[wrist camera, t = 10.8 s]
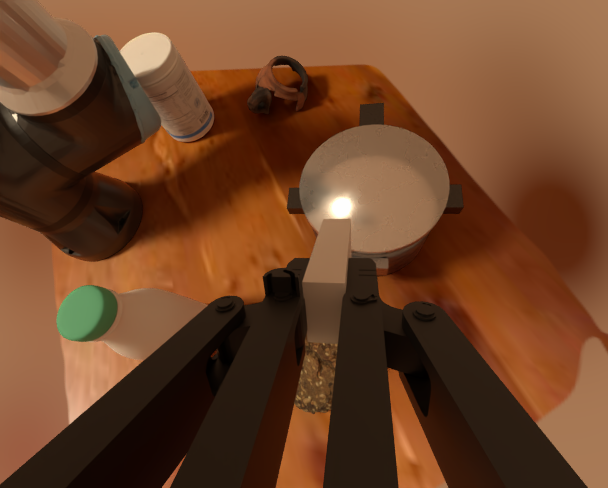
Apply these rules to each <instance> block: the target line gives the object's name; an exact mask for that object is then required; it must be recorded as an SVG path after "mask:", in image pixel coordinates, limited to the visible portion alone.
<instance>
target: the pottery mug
mask: <svg viewBox="0 0 608 488" xmlns="http://www.w3.org/2000/svg"><path fill="white" fill-rule="evenodd" d="M277 65H289V66H290V67H291V68H292V71H295V72H297V73H298V74H299V75H300V77H301V78H302V80H303V83H302V85H301V86H300V92H298V90H297V89H296V88H288V87H286V86H284V85H282V84H281V83H279V82H278V81H277V80H276V79H275V77H274V75H273V73H272V67H273V66H277ZM307 83H308V76H307V74H306V71H305V69H304V68H303V66H302V65H301V64H300V63H299V62H298V61H296V60H294V59H292V58H290V57H287V56H277V57H275V58H274V59H272V60H271V61H270V62H269V64H267V65H266V66H265V67H263V68H262V69H261V70H260V72H259V74H258V76H257V79H256V90H254V92H253V93H252V95H251V96H250V97H249V99H248V101H247V104H248V107H249V110H251V111H252V112H254V113H264V114H269V107H270V104H271V102H272V94H271V92H270V91H274V92H275V93H274V96H276V97H279V98H282V99H288V100H292V101H297V106H296V111H299V110H300V109H302V107H303V105H304V101H306V98H307V92H308V87H307Z"/></svg>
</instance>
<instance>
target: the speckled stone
mask: <svg viewBox="0 0 608 488" xmlns="http://www.w3.org/2000/svg"><path fill="white" fill-rule="evenodd" d="M337 347H338V344H332V343H316V342H308V340H307V334H306V338H305V349H306V352H305V357H304V361H303V366H302V370H301V375H300V379H299V384H298V388H297V393H296V397H295V402H294V404H295V405H296V406H297V407H298V408H299V409H303V411H305V412H311V413H313V414H315V412H323V413H326V412H328V410H331V405H332V395H333V386H334V376H335V366H336V357H337Z"/></svg>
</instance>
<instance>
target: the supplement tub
mask: <svg viewBox="0 0 608 488" xmlns="http://www.w3.org/2000/svg"><path fill="white" fill-rule="evenodd" d="M120 53H121V55H122V56H123V58H124V59H125V61H126V63H127V64H128V66H129V68H130V69H131V71H132V72H133V74H134V75H135V77H136V79H137V80H138V82H139V83H140V85H141V87H142V88H143V90H144V91H145V93H146V95H147V96H148V98H149V99H150V101H151V103H152V104H153V106H154V107H155V109H156V110H157V112H158V114H159V115H160V117H161V125H162V126H163V127H164V128H165V130H166V131H167V132H168V133H169V134H170V135H171V136H172V137H173V138H174V139H176V140H178V141H181V142H191V141H195V140H197V139H199V138H201V137H203V136H204V135H205V134H206V133H207V132H208V131H209V130H210V129H211V127H212V125H213V122H214V112H213V109H212V107H211V106H210V104H209V102H208V101H207V99H206V97H205V96H204V94H203V92H202V90H201V89H200V87H199V85H198V84H197V82H196V80H195V79H194V77H193V75H192V74H191V72H190V70H189V69H188V67H187V65H186V64H185V62H184V60H183V59H182V57H181V55H180V53H179V52H178V50H177V49H176V47H175V46H174V45H173V44H172V42H171V40H170V39H169V38H168V37H167V36H166V35H164V34H161V33H147V34H143V35H140V36H138V37H136V38H134V39H133V40H131V41H130V42H128V43H127V44H126V45H125V46H124V47H123V48H122V49H121V50H120Z"/></svg>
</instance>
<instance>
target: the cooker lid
mask: <svg viewBox="0 0 608 488" xmlns="http://www.w3.org/2000/svg"><path fill="white" fill-rule="evenodd" d="M449 190H450V188H449V176H448V171H447V168H446V166H445V163H444V161H443V159H442V158H441V156H440V155H439V153H438V152H437V151H436V149H435V148H434V147H433V146H432V145H431V144H430V143H428V142H427V141H426V140H425V139H423V138H422V137H420V136H418V135H417V134H415V133H413V132H411V131H408V130H406V129H403V128H399V127H395V126H390V125H384V103H376V104H362V105H360V126H359V127H354V128H351V129H348V130H345V131H343V132H340V133H338V134H336V135H334V136H333V137H331V138H329V139H328V140H327V141H325V142H324V143H323V144H322V145H320V146H319V147H318V148H317V149H316V150H315V152H314V153H313V154H312V155H311V157H310V158H309V160H308V161H307V163H306V165H305V167H304V169H303V172H302V175H301V180H300V189H299V193H300V201H301V205H302V208H303V211H304V213H305V215H306V218H307V220H308V222H309V223H310V225H311V226H312V228H313V229H314V230H315V231H316V232H317V234H318V233H319V230H320V227H321V224H322V221H323V219H351V253H356V254H361V255H383V254H389V253H393V252H397V251H400V250H403V249H405V248H407V247H410V246H411V245H413V244H415V243H416V242H418V241H420V240H421V239H422V238H423V237H425V236H426V235H427V234H428V233H429V232H430V231H431V230H432V229H433V228H434V226H435V225H436V223H437V222H438V221H439V219H440V217H441V215H442V213H443V211H444V209H445V207H446V204H447V201H448V197H449Z"/></svg>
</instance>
